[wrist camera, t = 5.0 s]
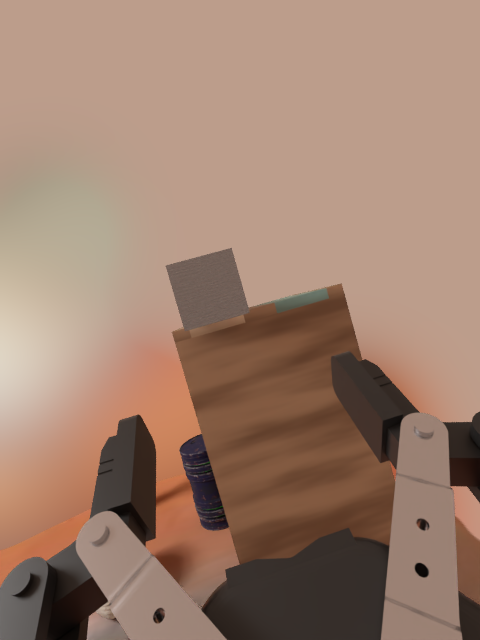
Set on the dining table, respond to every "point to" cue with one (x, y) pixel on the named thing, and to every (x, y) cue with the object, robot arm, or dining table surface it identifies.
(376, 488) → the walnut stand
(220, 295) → the dark gray rectangular block
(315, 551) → the robot arm
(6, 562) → the dining table surface
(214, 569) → the dining table surface
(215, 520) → the storage jar
